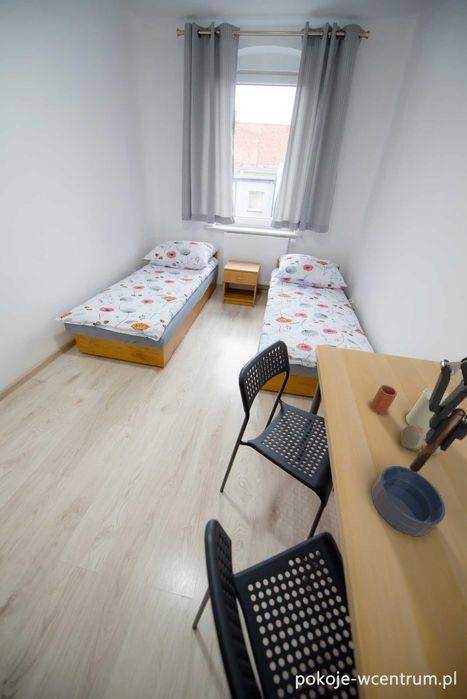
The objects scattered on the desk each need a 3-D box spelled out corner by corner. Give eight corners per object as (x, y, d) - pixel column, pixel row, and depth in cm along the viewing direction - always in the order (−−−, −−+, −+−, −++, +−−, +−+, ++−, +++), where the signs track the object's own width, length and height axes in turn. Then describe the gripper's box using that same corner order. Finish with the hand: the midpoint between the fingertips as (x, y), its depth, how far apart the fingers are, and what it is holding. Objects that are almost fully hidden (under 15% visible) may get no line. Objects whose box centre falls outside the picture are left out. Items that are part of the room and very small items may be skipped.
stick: (417, 469, 60) (467, 408, 49) (417, 475, 58) (468, 414, 48) (408, 464, 60) (455, 404, 50) (407, 471, 59) (456, 410, 49)
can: (441, 440, 83) (464, 413, 76) (408, 430, 85) (428, 402, 78) (434, 418, 90) (454, 392, 83) (403, 410, 92) (421, 383, 85)
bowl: (430, 498, 67) (444, 485, 64) (431, 550, 58) (446, 538, 54) (375, 470, 72) (384, 456, 69) (366, 513, 63) (377, 500, 59)
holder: (387, 406, 93) (397, 389, 88) (385, 416, 89) (396, 398, 84) (371, 400, 95) (381, 382, 90) (369, 409, 91) (379, 391, 86)
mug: (443, 463, 76) (446, 445, 70) (402, 460, 81) (401, 444, 75) (437, 438, 81) (439, 419, 75) (399, 436, 86) (398, 419, 80)
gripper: (460, 335, 41) (392, 437, 54) (594, 375, 35) (482, 477, 49) (456, 317, 46) (396, 413, 60) (572, 349, 41) (477, 448, 54)
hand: (435, 442), depth 54 cm, fingers closed on stick, 2 cm apart
